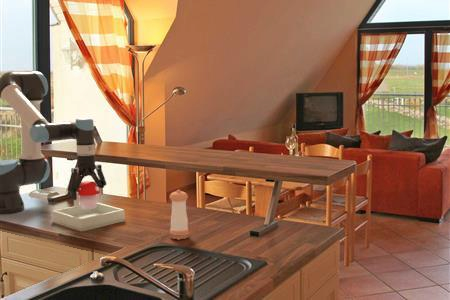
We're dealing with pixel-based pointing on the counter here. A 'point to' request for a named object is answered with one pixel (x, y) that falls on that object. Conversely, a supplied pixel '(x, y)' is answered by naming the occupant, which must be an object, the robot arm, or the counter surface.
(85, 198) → the mushroom
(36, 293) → the counter surface
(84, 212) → the tub
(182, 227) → the pepper shaker
